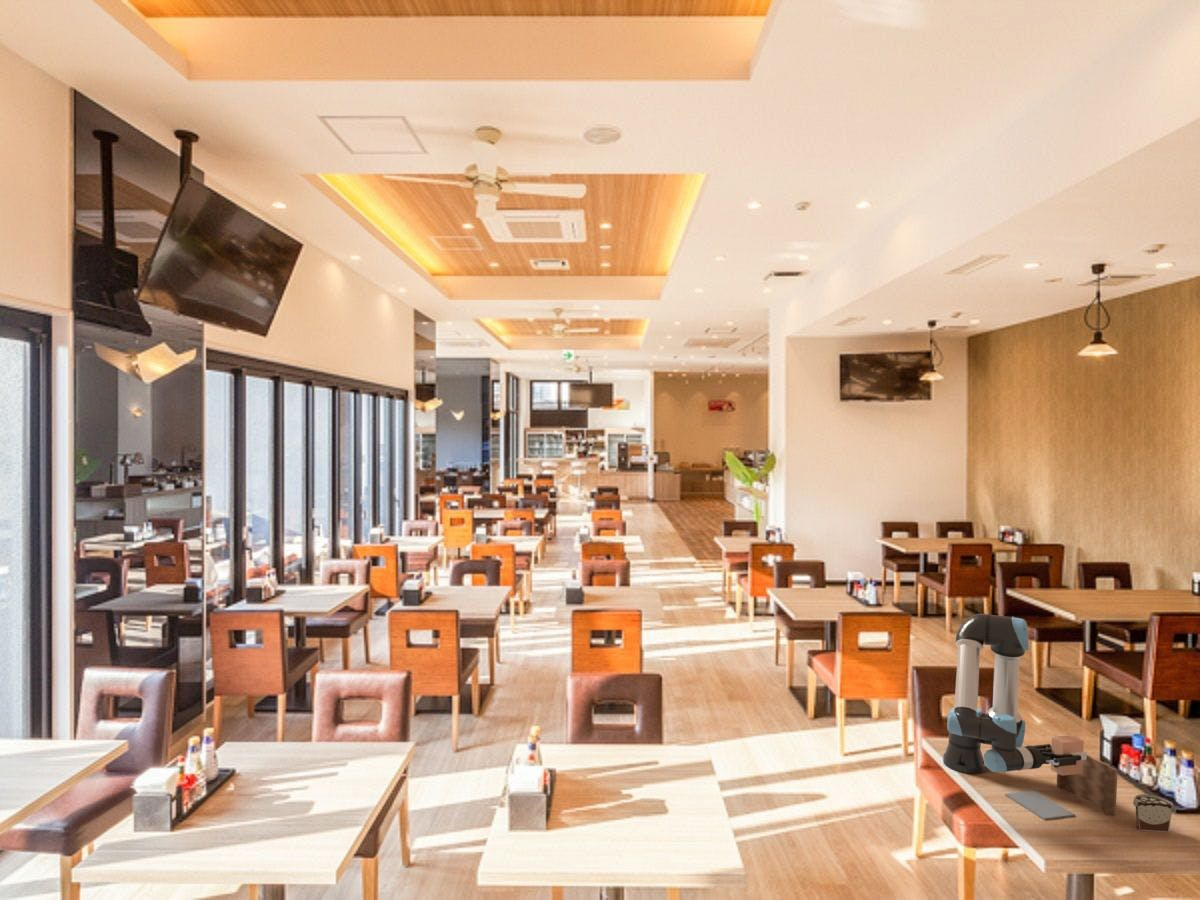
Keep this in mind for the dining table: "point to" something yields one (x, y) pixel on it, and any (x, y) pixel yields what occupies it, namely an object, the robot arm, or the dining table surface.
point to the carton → (1066, 747)
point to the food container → (1153, 813)
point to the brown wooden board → (1093, 784)
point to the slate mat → (1039, 805)
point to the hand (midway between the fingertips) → (1078, 752)
